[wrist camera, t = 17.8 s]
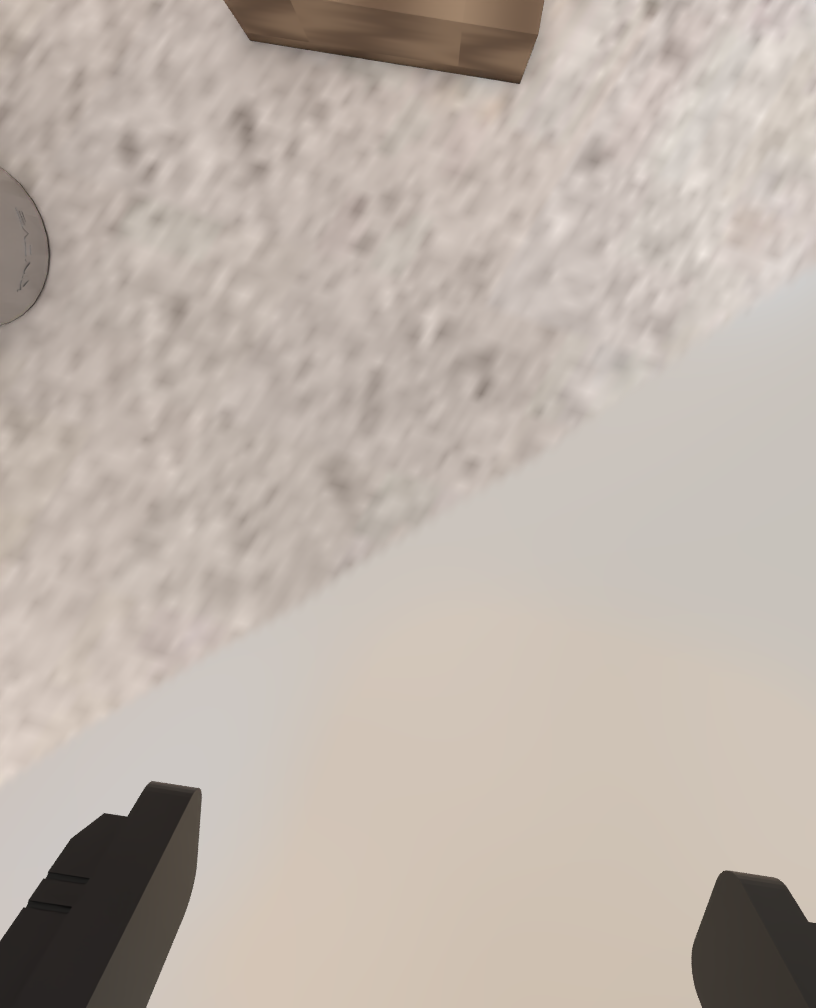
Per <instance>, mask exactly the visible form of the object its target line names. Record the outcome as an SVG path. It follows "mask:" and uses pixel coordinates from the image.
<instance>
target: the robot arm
mask: <svg viewBox="0 0 816 1008" xmlns="http://www.w3.org/2000/svg"><path fill="white" fill-rule="evenodd" d="M48 259H49V253H48V243H47V236H46V233H45V229H44V226H43V223H42V219H41V217H40V215H39V213H38V211H37V209H36V207H35V205H34V203H33V201H32V200H31V198H30V197H29V196H28V194H27V193H26V192H25V190H24V189H23V188H22V186H21V185H20V184H19V183H18V182H17V181H16V180H15V179H14V178H13V177H11V176H10V175H9V174H8V173H7V172H6V171H5V170H3V169H1V168H0V325H2V324H6V323H9V322H11V321H13V320H14V319H16V318H18V317H19V316H21V315H23V314H24V313H25V312H26V311H27V310H28V309H29V308H30V307H31V306H32V305H33V304H34V302H35V300H36V299H37V297H38V295H39V294H40V292H41V290H42V288H43V285H44V282H45V279H46V275H47V270H48ZM201 799H202V794H201V790H200V788H194V787H187V786H181V785H174V784H168V783H161V782H155V781H152V782H150V783H149V784H148V785H147V786H146V787H145V789H144V790H143V792H142V793H141V795H140V797H139V798H138V800H137V802H136V803H135V805H134V807H133V808H132V810H131V811H130V813H129V815H128V817H125V816H119V815H113V814H106V813H104V814H103V815H102V816H100V817H99V818H98V819H96V820H95V821H94V822H92V823H91V824H90V825H88V826H87V827H86V828H84V829H83V830H82V831H80V832H79V833H78V834H77V835H75V836H74V837H73V838H71V839H70V841H69V843H68V844H67V845H66V847H65V848H64V850H63V851H62V853H61V854H60V855H59V857H58V858H57V860H56V861H55V863H54V864H53V866H52V867H51V869H50V870H49V871H48V875H47V877H46V879H43V880H42V881H41V883H40V884H39V886H38V887H37V889H36V890H35V892H34V893H33V894H32V896H31V898H30V899H29V901H28V905H27V907H26V908H23V909H22V910H21V912H20V913H19V915H18V916H17V918H16V919H15V921H14V922H13V923H12V925H11V926H10V928H9V929H8V931H7V932H6V934H5V935H4V936H3V938H2V939H1V941H0V1008H146V1006H147V1004H148V1001H149V999H150V996H151V994H152V992H153V989H154V987H155V984H156V982H157V979H158V977H159V975H160V972H161V970H162V967H163V965H164V963H165V960H166V958H167V955H168V953H169V950H170V948H171V946H172V943H173V941H174V939H175V936H176V934H177V931H178V929H179V926H180V924H181V922H182V919H183V917H184V914H185V912H186V909H187V906H188V903H189V899H190V896H191V892H192V889H193V884H194V880H195V875H196V867H197V855H198V841H199V828H200V814H201ZM692 974H693V980H694V985H695V989H696V992H697V995H698V998H699V1000H700V1003H701V1006H702V1008H816V923H811V922H808V920H807V919H806V917H805V916H804V914H803V912H802V911H801V909H800V908H799V906H798V904H797V903H796V901H795V899H794V898H793V897H792V895H791V893H790V892H789V890H788V888H787V887H786V886H785V885H784V883H783V882H781V881H780V880H779V879H777V878H774V877H767V876H760V875H753V874H747V873H740V872H734V871H723V872H722V873H721V874H720V875H719V876H718V878H717V880H716V883H715V886H714V888H713V891H712V894H711V897H710V899H709V903H708V905H707V908H706V910H705V913H704V916H703V919H702V921H701V924H700V927H699V930H698V932H697V935H696V938H695V941H694V944H693V948H692Z"/></svg>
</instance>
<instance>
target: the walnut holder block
mask: <svg viewBox="0 0 816 1008" xmlns="http://www.w3.org/2000/svg"><path fill="white" fill-rule="evenodd" d="M224 1H225V3H226V5H227V6H228V8H229V9H230V11H231V12H232V14H233V15H234V17H235V18H236V20H237V21H238V23H239V24H240V26H241V27H242V29H243V30H244V32H245V33H246V35H247V36H248V38H249V39H250V40H251V41H257V42H263V43H269V44H276V45H282V46H288V47H294V48H301V49H307V50H313V51H319V52H325V53H332V54H338V55H344V56H350V57H357V58H363V59H369V60H375V61H382V62H388V63H394V64H400V65H406V66H413V67H419V68H425V69H431V70H438V71H444V72H450V73H456V74H462V75H469V76H475V77H481V78H487V79H494V80H500V81H506V82H512V83H518V84H520V82H521V79H522V76H523V74H524V71H525V68H526V66H527V63H528V60H529V58H530V55H531V52H532V50H533V47H534V44H535V42H536V39H537V36H538V33H539V27H540V21H541V16H542V10H543V5H544V0H224Z"/></svg>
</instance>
